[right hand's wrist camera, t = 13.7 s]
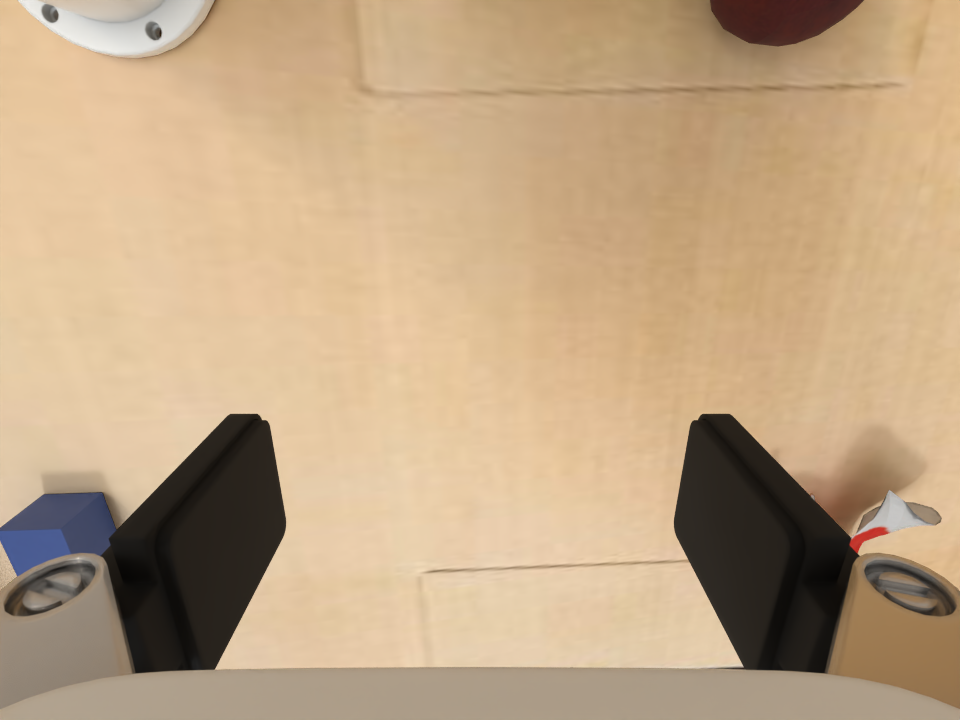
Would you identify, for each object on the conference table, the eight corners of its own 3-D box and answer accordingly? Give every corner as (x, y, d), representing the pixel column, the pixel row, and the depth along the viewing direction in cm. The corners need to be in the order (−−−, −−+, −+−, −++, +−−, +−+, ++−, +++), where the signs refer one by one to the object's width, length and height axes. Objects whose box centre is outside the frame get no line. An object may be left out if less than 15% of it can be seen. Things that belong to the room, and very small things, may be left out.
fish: (746, 467, 34) (882, 612, 28) (884, 420, 40) (1023, 530, 34) (680, 550, 41) (777, 681, 34) (807, 499, 47) (910, 602, 41)
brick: (64, 542, 43) (20, 583, 39) (43, 494, 41) (-5, 531, 37) (120, 541, 43) (82, 581, 39) (102, 492, 41) (60, 529, 37)
